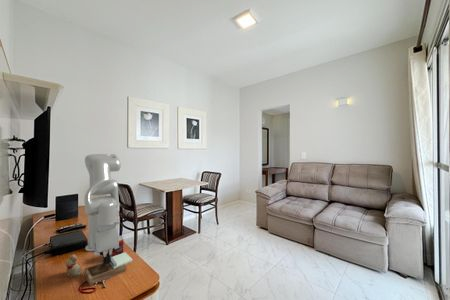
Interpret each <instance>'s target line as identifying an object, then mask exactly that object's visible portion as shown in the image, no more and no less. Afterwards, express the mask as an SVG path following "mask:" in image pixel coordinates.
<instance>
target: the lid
mask: <svg viewBox="0 0 450 300" xmlns="http://www.w3.org/2000/svg"><path fill="white" fill-rule="evenodd" d="M132 262H133V258H132V257H131V256H130V255H129V254H128V253H127V252H126V251H125V252H124V251H123V253H122V254H119V255H116V256H113V257H111V261H110V264H111V265H112V267H113V268H117V267H119V266H122V265H124V264H125V265H127V264H129V263H132Z"/></svg>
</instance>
